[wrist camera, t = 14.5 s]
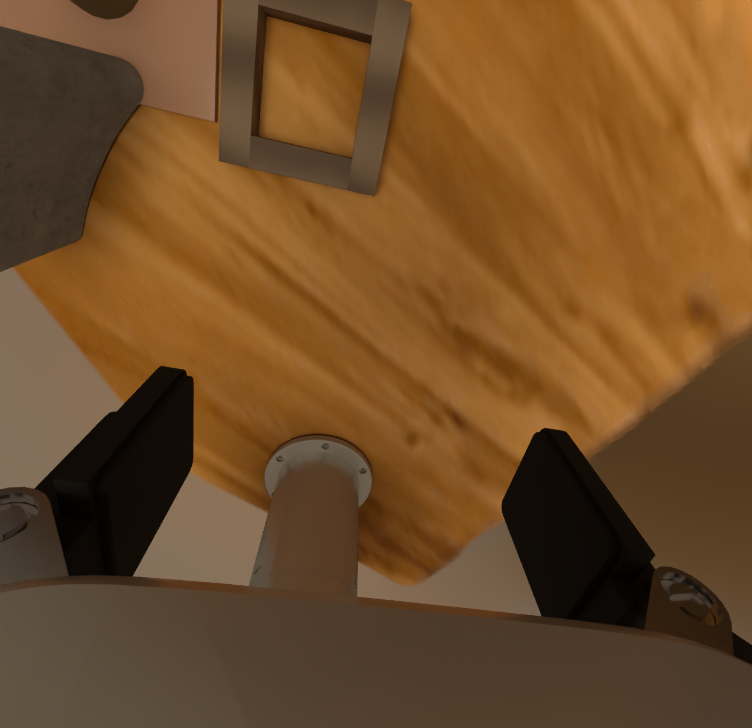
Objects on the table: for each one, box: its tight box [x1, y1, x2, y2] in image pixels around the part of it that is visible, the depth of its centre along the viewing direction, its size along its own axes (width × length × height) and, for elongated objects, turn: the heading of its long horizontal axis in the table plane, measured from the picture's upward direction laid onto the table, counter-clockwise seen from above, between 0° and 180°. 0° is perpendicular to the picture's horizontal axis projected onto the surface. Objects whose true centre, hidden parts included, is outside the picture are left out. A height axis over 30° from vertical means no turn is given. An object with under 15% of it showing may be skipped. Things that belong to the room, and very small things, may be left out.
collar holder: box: [219, 0, 412, 196], centre depth 30 cm, size 12×12×2 cm
